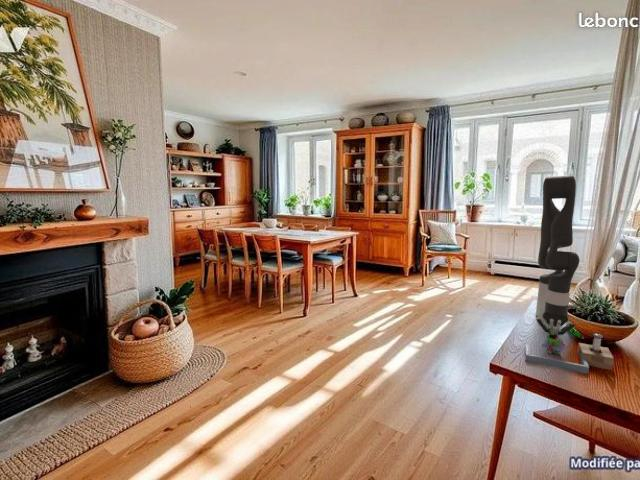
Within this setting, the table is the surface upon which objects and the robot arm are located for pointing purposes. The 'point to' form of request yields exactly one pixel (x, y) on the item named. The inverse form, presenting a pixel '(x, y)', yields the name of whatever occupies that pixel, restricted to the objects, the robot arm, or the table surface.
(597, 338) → the cylinder
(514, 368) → the table surface
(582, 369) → the open frame
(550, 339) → the geometric puzzle
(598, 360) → the slotted tan block
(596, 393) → the table surface
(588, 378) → the table surface
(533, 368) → the table surface
